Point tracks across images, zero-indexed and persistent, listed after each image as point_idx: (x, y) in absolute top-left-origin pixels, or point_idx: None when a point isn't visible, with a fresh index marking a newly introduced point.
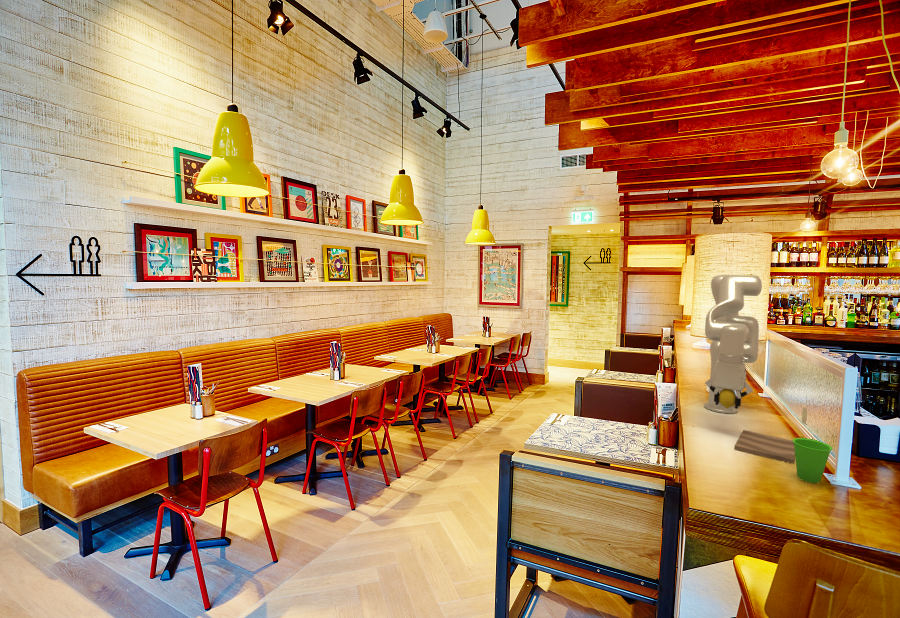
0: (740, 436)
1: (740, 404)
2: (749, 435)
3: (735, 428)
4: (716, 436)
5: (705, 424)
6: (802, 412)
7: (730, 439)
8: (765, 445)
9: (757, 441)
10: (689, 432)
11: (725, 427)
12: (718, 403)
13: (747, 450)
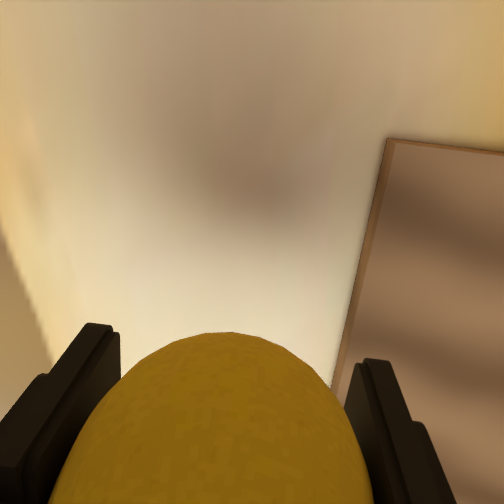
0: (357, 328)
1: (424, 435)
2: (424, 268)
3: (336, 11)
4: (211, 321)
5: (97, 72)
6: None
7: (294, 327)
8: (493, 409)
9: (457, 365)
10: (57, 343)
11: (254, 44)
12: (118, 377)
13: None
